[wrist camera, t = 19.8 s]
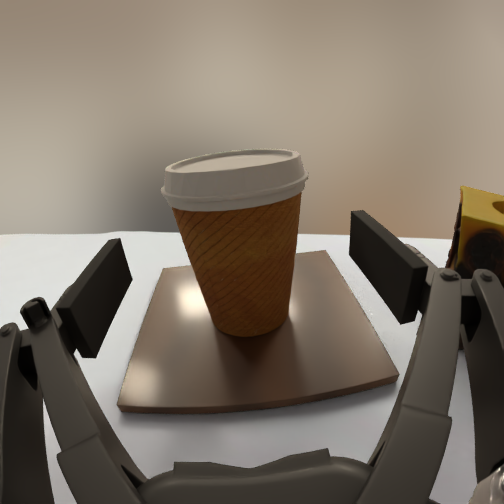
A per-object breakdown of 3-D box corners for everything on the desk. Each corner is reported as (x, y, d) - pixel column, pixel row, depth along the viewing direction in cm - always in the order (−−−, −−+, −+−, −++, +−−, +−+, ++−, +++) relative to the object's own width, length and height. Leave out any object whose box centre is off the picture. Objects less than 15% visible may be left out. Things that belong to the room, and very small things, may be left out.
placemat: (121, 411, 15) (116, 405, 15) (164, 274, 31) (163, 268, 31) (396, 381, 16) (399, 374, 15) (325, 256, 32) (325, 249, 31)
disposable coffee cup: (177, 350, 19) (130, 183, 14) (206, 280, 28) (185, 155, 23) (312, 352, 18) (316, 166, 13) (306, 277, 27) (302, 145, 21)
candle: (424, 342, 18) (457, 215, 14) (440, 278, 25) (456, 183, 20) (529, 370, 12) (583, 252, 8) (520, 300, 19) (547, 207, 14)
